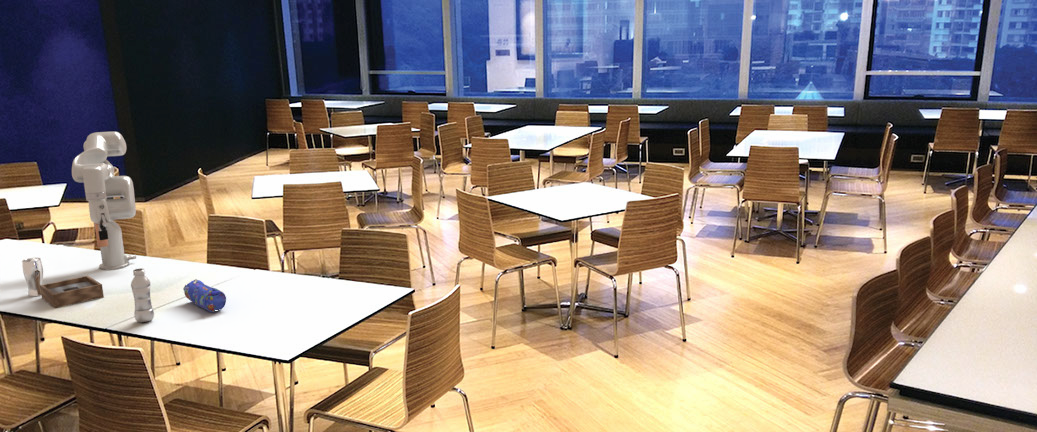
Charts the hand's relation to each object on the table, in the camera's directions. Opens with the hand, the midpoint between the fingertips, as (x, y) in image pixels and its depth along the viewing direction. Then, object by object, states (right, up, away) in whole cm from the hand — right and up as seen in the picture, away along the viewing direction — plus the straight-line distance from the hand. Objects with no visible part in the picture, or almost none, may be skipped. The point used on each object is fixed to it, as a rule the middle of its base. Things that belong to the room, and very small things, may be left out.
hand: (102, 238), depth 329 cm
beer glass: (-25, -23, -4) cm, 34 cm away
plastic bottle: (+36, -30, -37) cm, 60 cm away
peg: (0, -3, +1) cm, 3 cm away
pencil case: (+52, -26, -22) cm, 63 cm away
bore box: (-7, -24, -9) cm, 27 cm away
